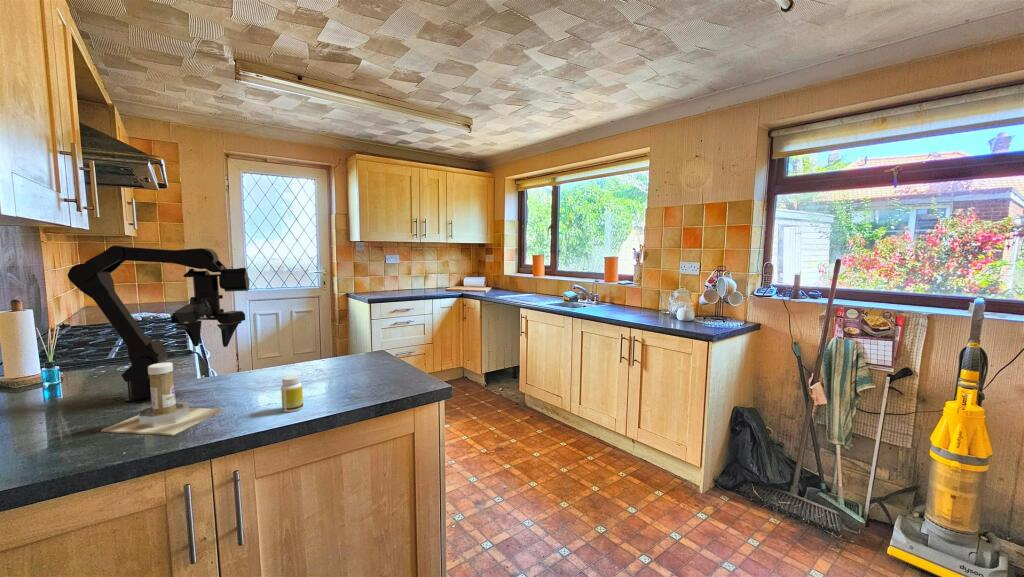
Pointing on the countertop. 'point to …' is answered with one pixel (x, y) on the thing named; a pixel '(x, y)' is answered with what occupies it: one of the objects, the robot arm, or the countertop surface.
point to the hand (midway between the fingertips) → (210, 346)
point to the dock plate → (171, 429)
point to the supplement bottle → (291, 393)
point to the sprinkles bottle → (162, 388)
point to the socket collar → (164, 416)
